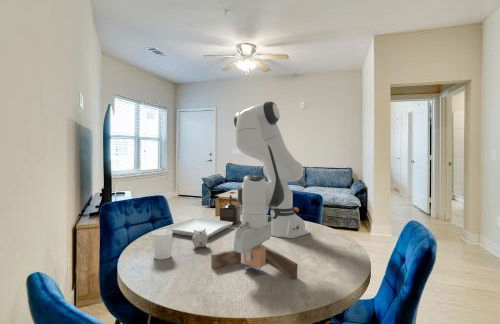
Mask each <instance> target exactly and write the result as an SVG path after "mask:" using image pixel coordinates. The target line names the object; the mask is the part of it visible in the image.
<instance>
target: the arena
mask: <svg viewBox="0 0 500 324" xmlns="http://www.w3.org/2000/svg"><path fill="white" fill-rule="evenodd" d="M262 247H263V248H266V261H265V263H267V264H269V265H270V266H272V267H274V269H275V268H276V269H277V270H278V271H280V272H282V273H283V274H285V275H287V276H288V277H289V278H291V279H292V280H295V279H298V263H297V262H296V261H293V260H292V259H290V258H288V257H286V256H284V255H282V254H281V253H279V252H277V251H276V250H274V249H271V248H270V247H268V246H266V245H265V244H262ZM210 256H211V257H210V258H211V259H210V260H211V261H210V264H211V265H210V266H211V269H217V268H219V269H220V268H222V267H229V266H232V265H237V264H242V263H241V253H238V252H235V250H234V249H231V250H225V251H219V252H215V253H213V252H212V253H210ZM241 268H243V269H244V270H245V271H246V272H247V273H249V274H250V275H251V276H253V277H258V276H261V275H262V276H263V275H266V274H267V272H266V271H264V269H261V268H257V267H253V266H250V265H246V264H244V265H242V266H241Z"/></svg>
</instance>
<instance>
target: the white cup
mask: <svg viewBox="0 0 500 324" xmlns="http://www.w3.org/2000/svg"><path fill="white" fill-rule="evenodd" d="M151 233H152V249H153V258H154V259H155V260H166V259H168V258H169V259H170V258H171V257H172V249H173V236H174V235H173V234H174V233H173V231H171V230H165V229H157V230H154V231H153V232H151Z"/></svg>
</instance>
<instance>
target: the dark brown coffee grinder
mask: <svg viewBox="0 0 500 324" xmlns="http://www.w3.org/2000/svg"><path fill="white" fill-rule="evenodd" d="M232 201H234V202H237V198H232V194H230V195H229V203H228V204H225V205H223V206H221V207H219V220H220V221H227V222H233V223H232V225H237V224H239V223H240V222H241V212H242V209H241V206H242V205H236V204H233V203H232Z"/></svg>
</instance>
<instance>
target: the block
mask: <svg viewBox="0 0 500 324" xmlns="http://www.w3.org/2000/svg"><path fill="white" fill-rule="evenodd" d="M250 253H251V255H253V257H252V260H250V261H248V260H246V254H245V252H244V253H241V263H240V264H244V265H250V266H253V267H257V268H260V269H261V268H262V267H264V266H265V265H266V248H263V247H259V246H256V247H254V248H252V249H251V252H250Z"/></svg>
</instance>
